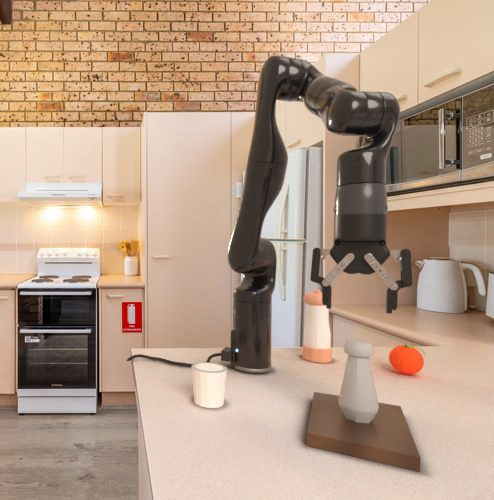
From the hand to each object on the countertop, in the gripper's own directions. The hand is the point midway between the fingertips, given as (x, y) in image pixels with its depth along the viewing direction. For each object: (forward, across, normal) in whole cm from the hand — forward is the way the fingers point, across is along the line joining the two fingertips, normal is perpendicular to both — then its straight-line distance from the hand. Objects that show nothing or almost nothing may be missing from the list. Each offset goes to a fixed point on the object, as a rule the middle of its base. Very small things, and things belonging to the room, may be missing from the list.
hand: (357, 310), depth 65 cm
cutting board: (+20, 0, 0) cm, 20 cm away
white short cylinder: (+20, +25, +1) cm, 32 cm away
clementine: (+20, -12, -41) cm, 47 cm away
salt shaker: (+18, 0, 0) cm, 18 cm away
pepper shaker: (+20, +8, -44) cm, 49 cm away
